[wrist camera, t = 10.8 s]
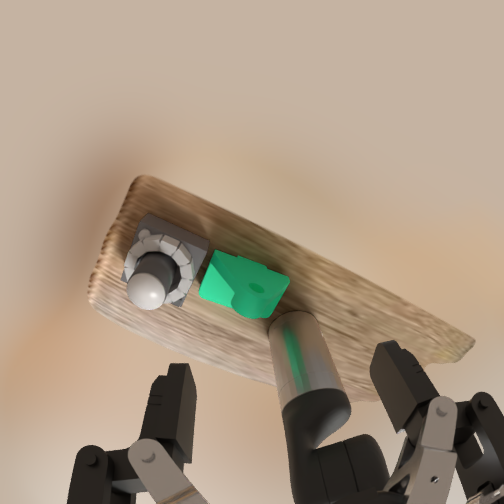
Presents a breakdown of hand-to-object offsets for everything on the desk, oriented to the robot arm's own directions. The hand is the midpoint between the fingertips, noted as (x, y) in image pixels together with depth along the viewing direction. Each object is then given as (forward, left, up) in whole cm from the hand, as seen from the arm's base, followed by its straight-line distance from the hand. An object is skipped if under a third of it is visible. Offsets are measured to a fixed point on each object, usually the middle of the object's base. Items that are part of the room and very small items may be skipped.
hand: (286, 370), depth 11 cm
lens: (0, +15, -26) cm, 30 cm away
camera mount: (-10, +8, -30) cm, 33 cm away
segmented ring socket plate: (0, +15, -30) cm, 33 cm away
